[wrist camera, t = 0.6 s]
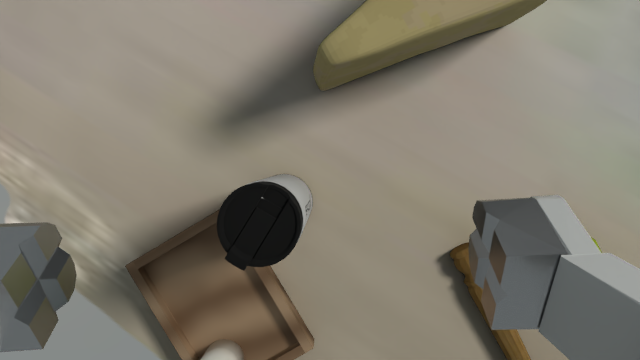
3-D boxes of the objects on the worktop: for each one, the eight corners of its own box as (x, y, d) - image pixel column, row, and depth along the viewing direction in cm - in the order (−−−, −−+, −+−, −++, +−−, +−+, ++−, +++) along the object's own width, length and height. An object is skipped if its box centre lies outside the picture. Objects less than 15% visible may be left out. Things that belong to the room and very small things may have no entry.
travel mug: (245, 213, 56) (195, 244, 36) (275, 163, 55) (242, 166, 35) (292, 242, 56) (269, 289, 36) (323, 192, 55) (317, 211, 35)
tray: (314, 339, 56) (313, 348, 53) (216, 395, 57) (210, 407, 54) (232, 202, 56) (227, 204, 53) (134, 260, 56) (124, 265, 54)
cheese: (339, 124, 55) (341, 112, 40) (296, 48, 55) (282, 7, 40) (516, 23, 54) (586, -28, 39) (472, -55, 54) (526, -137, 39)
